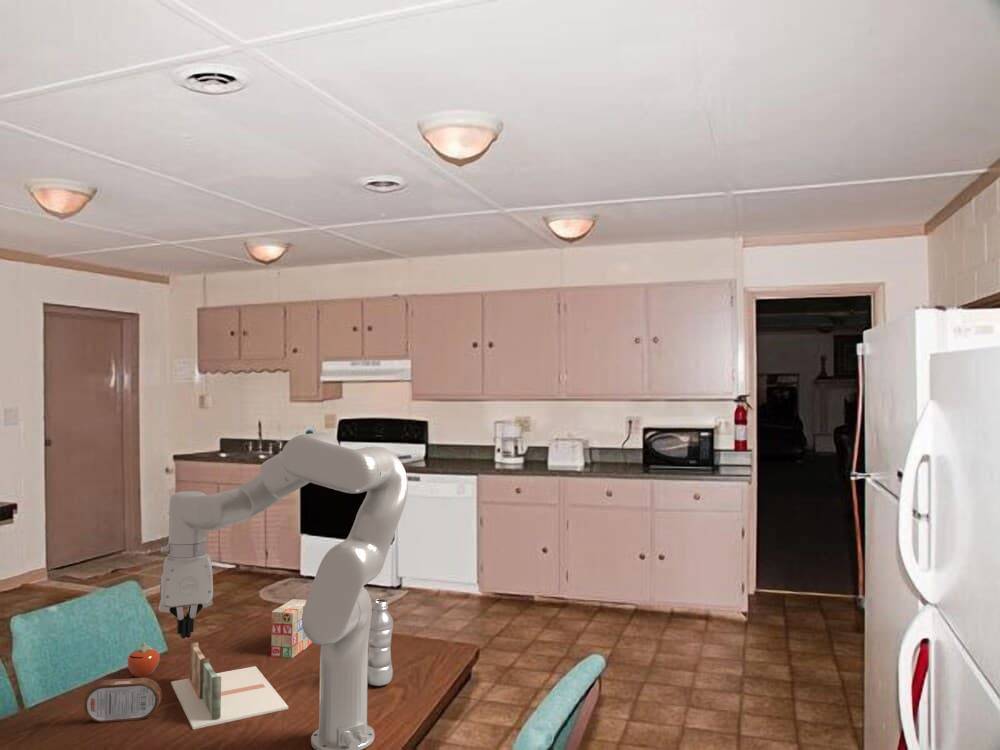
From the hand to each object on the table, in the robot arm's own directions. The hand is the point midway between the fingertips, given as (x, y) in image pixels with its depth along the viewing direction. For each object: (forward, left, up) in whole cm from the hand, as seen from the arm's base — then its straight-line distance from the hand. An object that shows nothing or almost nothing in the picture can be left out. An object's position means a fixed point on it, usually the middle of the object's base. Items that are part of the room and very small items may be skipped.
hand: (185, 636), depth 159 cm
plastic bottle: (-1, -44, -19) cm, 48 cm away
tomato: (+35, +4, -19) cm, 40 cm away
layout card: (+10, -11, -18) cm, 24 cm away
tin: (+9, +11, -19) cm, 23 cm away
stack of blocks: (+37, -36, -19) cm, 55 cm away
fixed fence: (+17, -6, -18) cm, 26 cm away
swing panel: (+3, -6, -18) cm, 19 cm away
